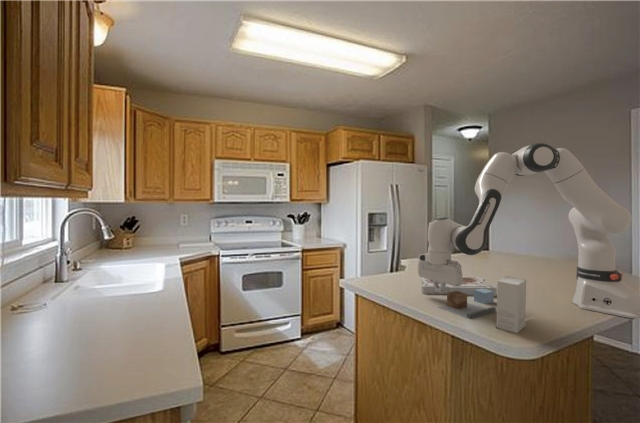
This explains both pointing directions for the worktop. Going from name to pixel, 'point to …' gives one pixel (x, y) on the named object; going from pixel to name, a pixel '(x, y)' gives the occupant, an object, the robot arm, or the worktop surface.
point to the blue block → (484, 296)
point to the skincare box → (511, 304)
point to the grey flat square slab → (469, 310)
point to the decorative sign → (466, 287)
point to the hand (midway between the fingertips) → (439, 292)
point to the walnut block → (457, 299)
